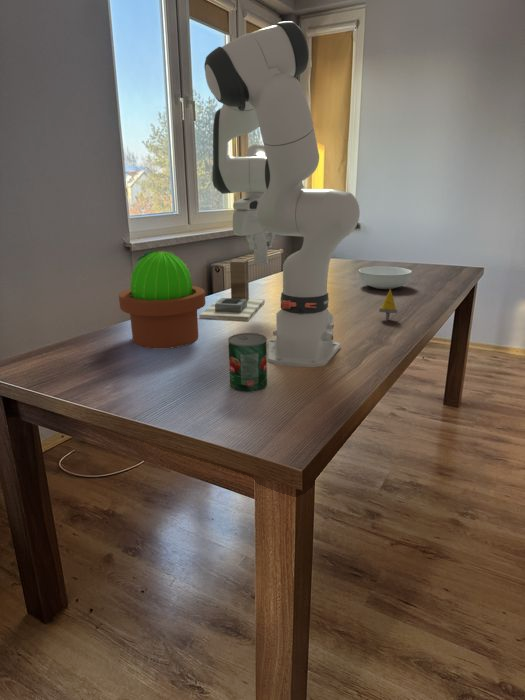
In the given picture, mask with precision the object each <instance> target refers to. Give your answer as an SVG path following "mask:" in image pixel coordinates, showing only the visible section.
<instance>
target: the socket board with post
mask: <svg viewBox="0 0 525 700" xmlns="http://www.w3.org/2000/svg"><path fill="white" fill-rule="evenodd" d="M229 264H230V267H229V268H230V272H229V273H230V297H220V298H219V299H218V300H216V301H215V302H214V303H212V304H211V305H210V306H209V307H207V308H206V309H205V310H203V311H202V312H200V314H199V316H198V317H199V319H204V318H216V319H215V320H223V319H228V320H227V321H241V320H242V322H243V321H245V322H249V321H251V319H252V318H253V317H254V316H255V314H257V312H258V311H259V310H260V309H261V308H262V307H263V306H264V305H265V300H266V299H264V298H263V299H262V298H250V293H249V292H250V291H249V289H250V288H249V284H250V283H249V260H248V259H233V260H231V261H230V262H229ZM262 305H263V306H262ZM261 306H262V307H261ZM260 307H261V308H260ZM259 308H260V309H259Z"/></svg>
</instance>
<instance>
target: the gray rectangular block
mask: <svg viewBox="0 0 525 700" xmlns="http://www.w3.org/2000/svg"><path fill="white" fill-rule="evenodd" d="M267 239H268V235H267V231H262V233H261V234H254V238H253V241H254V243H256V249H253V257H254V259H253V260H254V261H253V264H254V265H257V264H259V265H260V264H261V265H262V264H263V265H267V264H268V262H269V261H268V253H269V252H268V248H269V247H268V245H267Z"/></svg>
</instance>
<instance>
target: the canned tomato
mask: <svg viewBox="0 0 525 700" xmlns="http://www.w3.org/2000/svg"><path fill="white" fill-rule="evenodd" d="M227 341H228V361H229V363H228V364H229V365H228V367H229V369H228V371H229V385H230V388H231V389H232V390H234V391H237V392H241V393H254V392H259V391H262V390H263V389H266V388H267V386H268V363H267V362H268V343H267V341H268V339H267V337H266V336H265V335H264V334H260V333H257V332H256V333H255V332H242V333H241V332H240V333H236V334H233V335H230V336H229V337H228V339H227Z"/></svg>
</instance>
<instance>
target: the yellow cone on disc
mask: <svg viewBox="0 0 525 700" xmlns="http://www.w3.org/2000/svg"><path fill="white" fill-rule="evenodd" d="M378 311H379V312H380V313H385V320H386V322H388V321H389V319H390V315H391V314H397V313H398V309H397V308H396V305H395V300H394V297H393V292H392V289H388V292H387V295H386V297H385V299H384V301H383V303H382V304H381V308H379V310H378Z"/></svg>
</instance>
